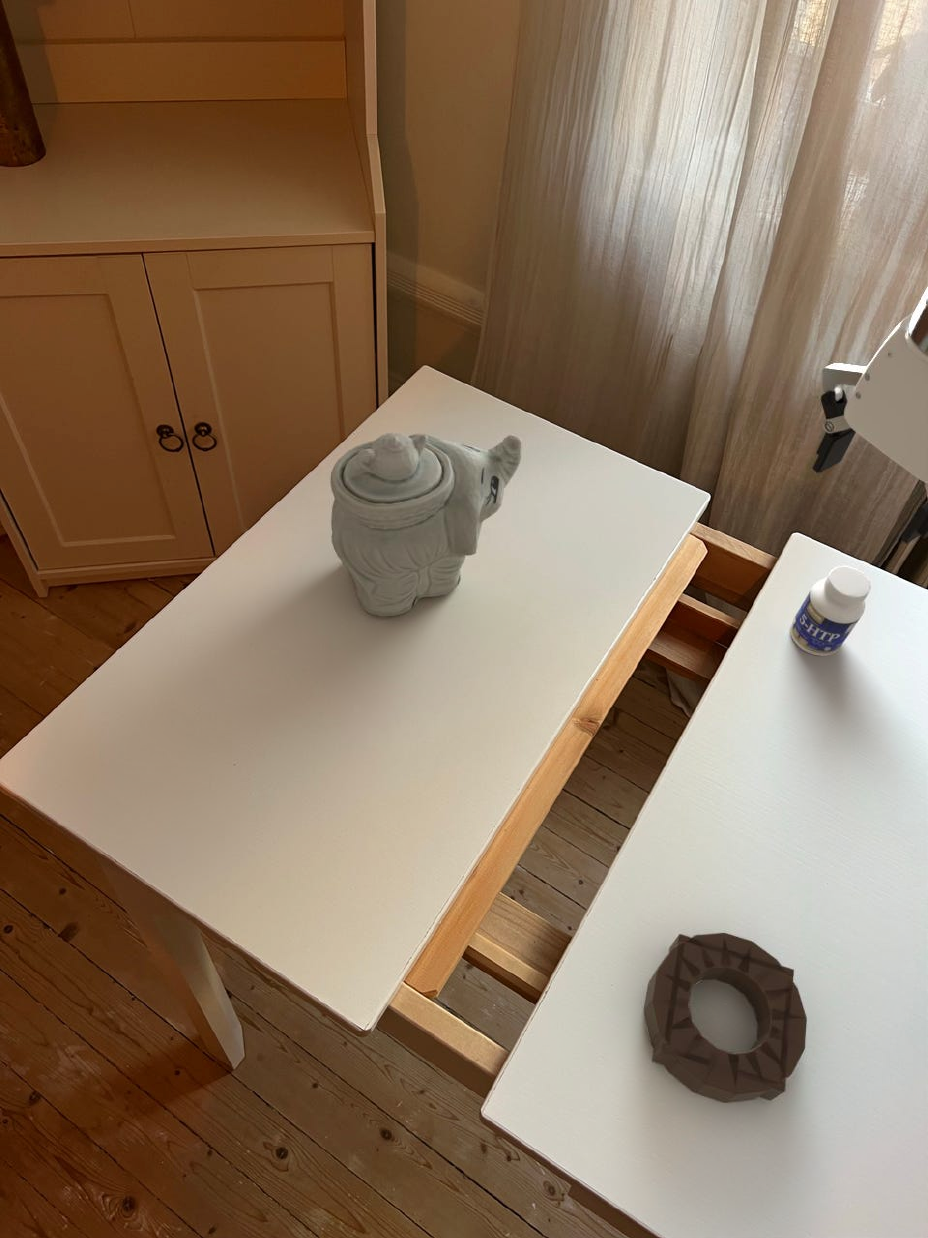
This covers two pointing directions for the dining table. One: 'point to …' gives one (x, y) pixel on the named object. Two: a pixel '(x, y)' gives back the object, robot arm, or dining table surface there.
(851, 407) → the robot arm
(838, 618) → the pill bottle
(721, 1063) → the socket plate
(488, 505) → the teapot
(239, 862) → the dining table surface
